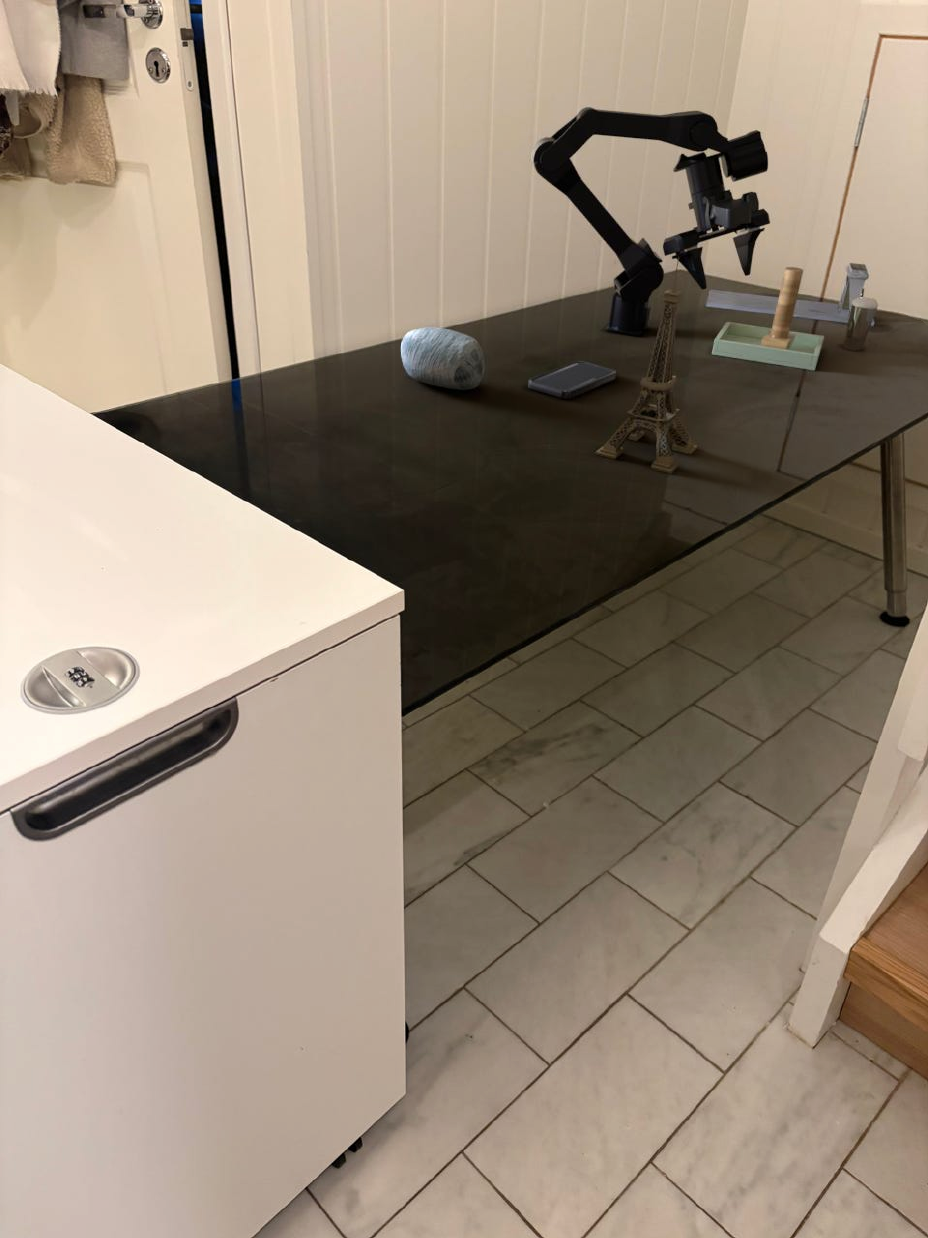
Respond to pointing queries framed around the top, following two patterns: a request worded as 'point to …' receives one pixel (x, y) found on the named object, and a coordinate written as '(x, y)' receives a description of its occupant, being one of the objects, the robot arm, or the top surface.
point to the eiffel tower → (665, 411)
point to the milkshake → (859, 322)
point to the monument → (802, 307)
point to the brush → (784, 311)
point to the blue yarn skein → (443, 358)
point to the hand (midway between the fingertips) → (726, 282)
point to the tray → (748, 341)
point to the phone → (572, 379)
